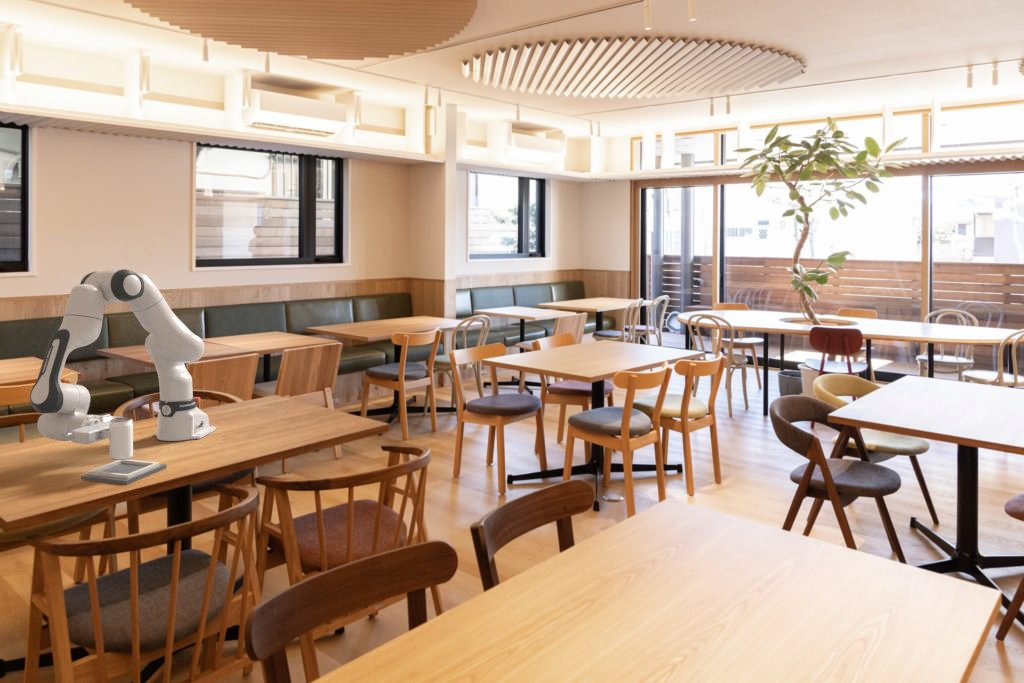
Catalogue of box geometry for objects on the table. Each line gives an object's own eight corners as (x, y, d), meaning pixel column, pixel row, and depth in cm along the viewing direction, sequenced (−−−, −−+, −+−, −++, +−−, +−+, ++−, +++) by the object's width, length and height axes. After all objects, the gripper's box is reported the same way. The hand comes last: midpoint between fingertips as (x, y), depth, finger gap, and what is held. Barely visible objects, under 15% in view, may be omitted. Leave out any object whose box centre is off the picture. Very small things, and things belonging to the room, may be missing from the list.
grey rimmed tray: (123, 463, 257) (123, 457, 256) (166, 468, 253) (166, 461, 252) (80, 479, 239) (80, 472, 239) (126, 484, 235) (125, 477, 235)
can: (125, 461, 241) (124, 422, 239) (105, 459, 242) (104, 420, 240) (137, 455, 247) (137, 417, 246) (118, 453, 248) (117, 416, 247)
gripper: (60, 426, 237) (99, 430, 234) (110, 412, 257) (147, 415, 253) (61, 447, 238) (100, 451, 234) (111, 431, 257) (147, 435, 254)
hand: (125, 432), depth 244 cm, fingers closed on can, 4 cm apart
